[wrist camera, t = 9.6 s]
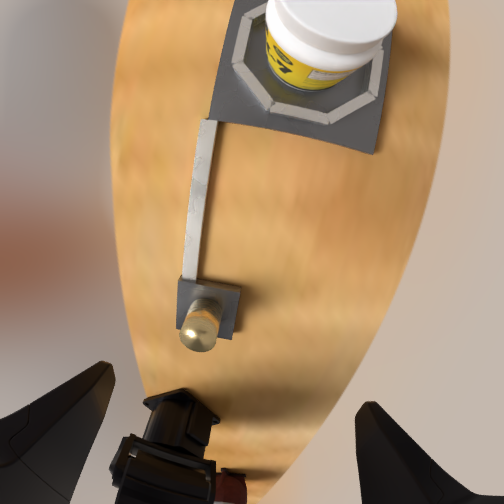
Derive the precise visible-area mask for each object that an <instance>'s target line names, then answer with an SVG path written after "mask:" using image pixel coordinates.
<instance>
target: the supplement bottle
mask: <svg viewBox="0 0 504 504" xmlns="http://www.w3.org/2000/svg"><path fill="white" fill-rule="evenodd" d="M265 20H266V56H267V60H268V63H269V66H270V68H271V69H272V71H273V73H274V74H275V75H276V76H277V77H278V78H279V79H280V80H281V81H282V82H283V83H285V84H287V85H288V86H290V87H292V88H295V89H298V90H302V91H309V92H314V91H322V90H325V89H328V88H330V87H332V86H334V85H335V84H337V83H338V82H340V81H341V80H343V79H344V78H346V77H347V76H349V75H350V74H352V73H353V72H354V71H356V70H357V69H359V68H360V67H362V66H363V65H365V64H366V63H368V62H369V61H370V60H371V59H372V58H373V57H374V56H375V55H376V54H377V52H378V51H379V49H380V47H381V44H382V41H383V38H384V37H386V36H387V35H388V34H389V33H390V32H391V31H392V29H393V28H394V26H395V23H396V20H397V6H396V2H395V0H268V3H267V7H266V15H265Z"/></svg>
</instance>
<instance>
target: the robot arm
mask: <svg viewBox="0 0 504 504" xmlns="http://www.w3.org/2000/svg"><path fill="white" fill-rule="evenodd" d="M114 386H115V374H114V370H113V366H112V364H111V363H108V362H105V361H99V362H98V363H96V364H94V365H93V366H91V367H90V368H88V369H86V370H85V371H83V372H81V373H80V374H78V375H77V376H75V377H73V378H71V379H70V380H68V381H67V382H65V383H63V384H62V385H60V386H58V387H57V388H55V389H53V390H52V391H50V392H48V393H47V394H45V395H43V396H42V397H40V398H38V399H37V400H35V401H33V402H32V403H30V405H27V406H25V407H23V408H21V409H20V410H18V411H16V412H14V413H12V414H10V415H8V416H6V417H4V418H2V419H0V504H70V501H71V498H72V495H73V493H74V490H75V487H76V485H77V482H78V479H79V477H80V474H81V472H82V469H83V466H84V464H85V461H86V459H87V457H88V454H89V452H90V449H91V447H92V445H93V443H94V440H95V438H96V436H97V433H98V431H99V429H100V426H101V424H102V422H103V419H104V417H105V414H106V410H107V407H108V404H109V401H110V398H111V395H112V392H113V389H114ZM143 404H144V405H145V406H146V407H148V408H149V409H150V410H151V411H152V412H151V415H150V418H149V421H148V423H147V426H146V429H145V432H144V435H143V438H140V437H137V436H136V435H135V434H132V433H131V434H130V436H129V437H123V438H122V441H121V444H120V446H119V449H118V451H117V453H116V454H115V456H114V458H113V460H112V462H111V464H110V467H109V470H110V472H111V474H112V479H113V482H112V486H114V487H117V488H119V490H118V493H117V497H116V501H115V504H214V501H215V495H216V461H214V460H206V459H203V458H204V452H205V446H208V443H209V438H210V432H211V426H212V425H216V424H219V423H220V418H218V417H217V416H216V415H215V414H213V413H212V412H211V411H210V410H208V409H207V408H206V407H205V406H204V405H202V404H201V403H200V402H199V401H198V400H196V399H195V398H194V397H193V396H192V395H191V394H190V393H188V392H187V391H186V390H184V389H179V390H176V391H172V392H169V393H165V394H162V395H158V396H154V397H150V398H146V399H144V401H143ZM355 437H356V456H357V464H358V472H359V480H360V488H361V497H362V504H504V496H488V495H479V494H475V493H473V492H471V491H470V490H468V489H467V488H465V487H464V486H463V485H462V484H460V483H459V482H458V481H456V480H455V479H454V478H453V477H451V476H450V475H449V474H448V473H447V472H445V471H444V470H443V469H442V468H441V467H440V466H439V465H438V464H437V463H436V462H435V461H434V460H433V459H431V457H430V456H429V455H428V454H427V453H426V452H425V451H424V450H423V449H422V448H421V447H420V446H419V445H418V444H417V443H416V442H415V441H414V440H413V439H412V438H411V437H410V436H409V435H408V434H407V433H406V432H405V431H404V430H403V429H402V428H401V427H400V426H399V425H398V424H397V423H396V422H395V421H394V420H393V419H392V418H391V417H390V416H389V415H388V414H387V412H385V410H384V409H383V408H382V407H381V406H380V405H379V404H378V403H377V402H375V401H371V402H370V401H367V402H365V403H364V404H363V405H362V407H361V408H360V409H359V411H358V412H357V414H356V416H355ZM131 454H132V455H135V456H136V457H133V456H131Z"/></svg>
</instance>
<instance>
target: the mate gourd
mask: <svg viewBox="0 0 504 504" xmlns="http://www.w3.org/2000/svg"><path fill="white" fill-rule="evenodd" d="M221 472H222V473H216V495H215V501H214V504H247V487H246V483H245V479H244V477H246V474H233V473H229V472H228V471H227V469H226V468H221Z"/></svg>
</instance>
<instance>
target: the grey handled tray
mask: <svg viewBox="0 0 504 504" xmlns="http://www.w3.org/2000/svg"><path fill="white" fill-rule="evenodd" d="M267 3H268V0H235V1H234V5H233V9H232V12H231V16H230V20H229V24H228V28H227V32H226V36H225V40H224V45H223V49H222V53H221V58H220V62H219V67H218V72H217V76H216V81H215V86H214V91H213V96H212V101H211V107H210V112H209V118H208V120H206V119H201V122H200V128H199V134H198V140H197V147H196V153H195V160H194V167H193V174H192V182H191V190H190V198H189V207H188V216H187V225H186V235H185V246H184V258H183V271H182V275H181V276H180V278H179V280H178V292H177V315H176V329H179V330H180V334H179V336H180V340H181V342H182V343H183V344H184V345H185V346H186V347H187V348H189V349H190V350H193V351H196V352H206V351H209V350H211V349H212V348H213V347H214V346H215V344H216V339H217V337H218V338H223V339H229V340H232V335H233V330H234V324H235V319H236V313H237V308H238V303H239V297H240V292H241V287H239V286H234V285H228V284H223V283H218V282H212V281H207V280H202V279H197V275H198V266H199V256H200V247H201V239H202V230H203V222H204V214H205V207H206V199H207V192H208V185H209V178H210V172H211V165H212V159H213V152H214V146H215V140H216V135H217V129H218V123H219V121H220V122H227V123H234V124H241V125H247V126H253V127H259V128H265V129H270V130H275V131H280V132H285V133H290V134H295V135H299V136H303V137H308V138H312V139H316V140H320V141H324V142H328V143H332V144H335V145H339V146H343V147H346V148H350V149H353V150H357V151H360V152H363V153H366V154H370V155H373V153H374V149H375V144H376V139H377V134H378V129H379V124H380V119H381V113H382V108H383V102H384V96H385V89H386V82H387V75H388V68H389V59H390V50H391V40H392V31H391V32H390V33H389V34H388V35H387V36H386V37H384V38H383V41H382V44H381V47H380V49H379V51H378V52H377V54H376V55H375V56H374V57H373V58H372V59H371V60H370V61H369V62H368V63H366V64H365V65H363V66H362V67H360V68H359V69H357V70H356V71H354V72H353V73H352V74H350V75H349V76H347V77H346V78H344V79H343V80H341V81H340V82H338V83H337V84H335V85H334V86H332V87H330V88H328V89H325V90H322V91H314V92H309V91H302V90H298V89H295V88H292V87H290V86H288V85H287V84H285V83H283V82H282V81H281V80H280V79H279V78H278V77H277V76H276V75H275V74H274V73H273V71H272V69H271V68H270V66H269V63H268V60H267V56H266V20H265V15H266V7H267Z"/></svg>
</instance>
